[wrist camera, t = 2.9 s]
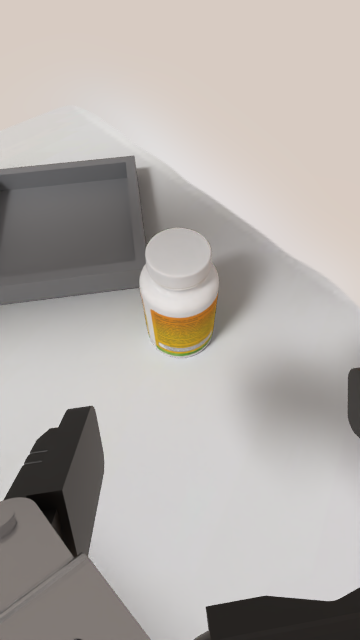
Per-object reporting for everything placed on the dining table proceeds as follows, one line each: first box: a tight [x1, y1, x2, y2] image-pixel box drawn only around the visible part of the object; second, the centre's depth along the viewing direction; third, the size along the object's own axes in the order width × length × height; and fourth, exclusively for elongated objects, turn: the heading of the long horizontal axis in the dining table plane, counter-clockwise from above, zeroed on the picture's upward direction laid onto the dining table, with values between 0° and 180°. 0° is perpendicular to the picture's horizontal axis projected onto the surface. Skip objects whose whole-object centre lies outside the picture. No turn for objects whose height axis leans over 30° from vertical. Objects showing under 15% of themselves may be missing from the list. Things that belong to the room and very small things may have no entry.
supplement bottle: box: [139, 228, 219, 358], centre depth 24 cm, size 5×5×10 cm
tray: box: [0, 156, 146, 305], centre depth 33 cm, size 16×16×2 cm
